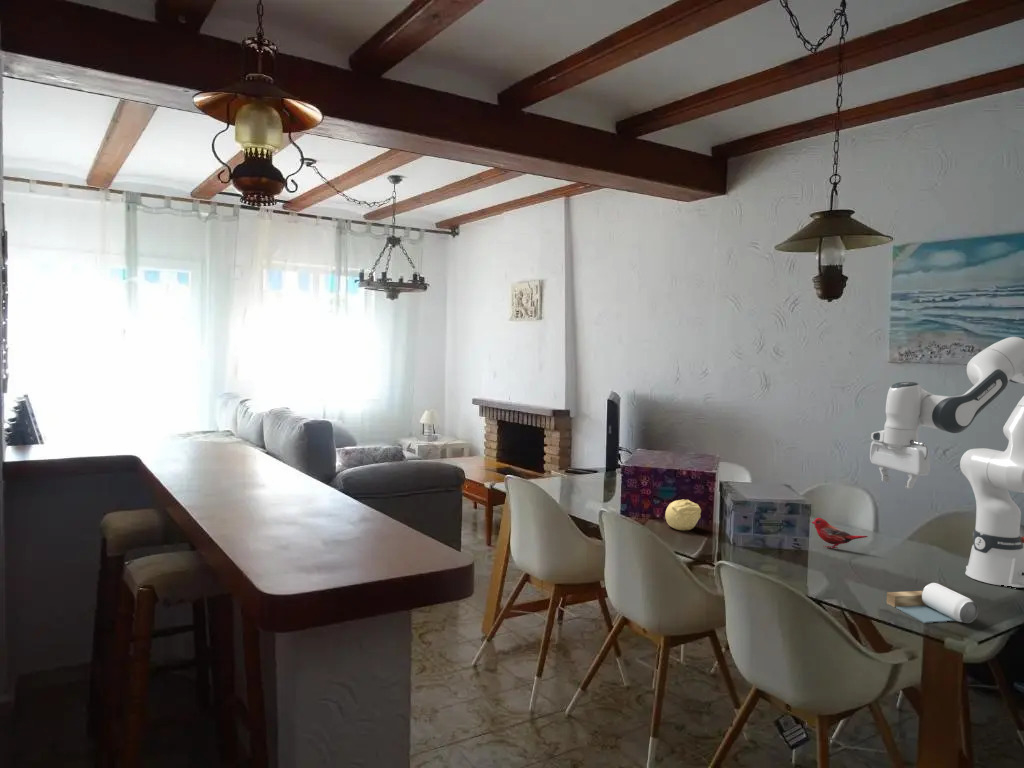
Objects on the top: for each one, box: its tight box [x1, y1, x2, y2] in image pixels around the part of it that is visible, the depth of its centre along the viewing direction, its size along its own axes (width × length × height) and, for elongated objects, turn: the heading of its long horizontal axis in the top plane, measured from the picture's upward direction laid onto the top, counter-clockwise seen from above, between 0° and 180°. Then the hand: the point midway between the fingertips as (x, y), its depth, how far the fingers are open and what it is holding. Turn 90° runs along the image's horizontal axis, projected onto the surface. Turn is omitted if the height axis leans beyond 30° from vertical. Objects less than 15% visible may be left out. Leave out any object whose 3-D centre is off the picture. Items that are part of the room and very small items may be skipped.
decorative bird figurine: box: [811, 517, 868, 549], centre depth 243 cm, size 3×18×10 cm, turn 59°
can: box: [921, 582, 979, 624], centre depth 186 cm, size 6×6×12 cm
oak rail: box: [886, 590, 926, 608], centre depth 194 cm, size 16×3×3 cm, turn 102°
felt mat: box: [895, 605, 958, 624], centre depth 187 cm, size 12×10×1 cm
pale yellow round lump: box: [664, 499, 702, 531], centre depth 263 cm, size 12×12×11 cm
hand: (897, 485), depth 209 cm, fingers open, 8 cm apart
